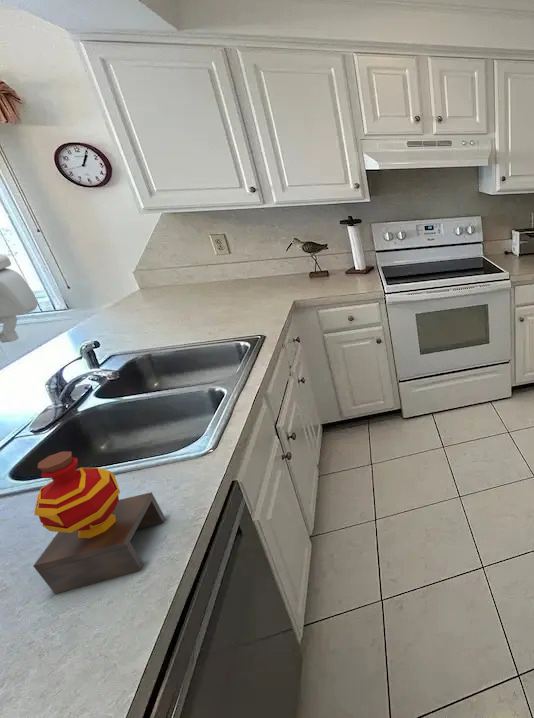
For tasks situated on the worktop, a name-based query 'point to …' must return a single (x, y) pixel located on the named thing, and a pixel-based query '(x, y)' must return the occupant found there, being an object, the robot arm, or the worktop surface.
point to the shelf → (99, 548)
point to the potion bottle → (76, 497)
